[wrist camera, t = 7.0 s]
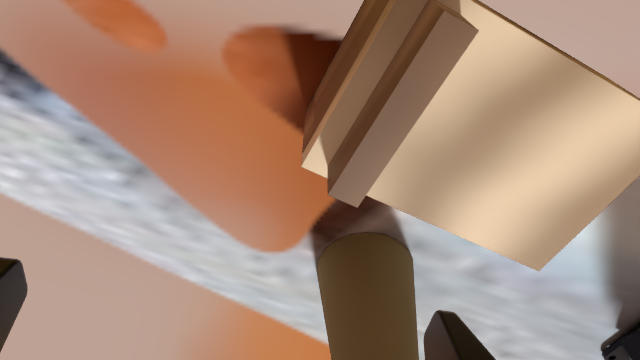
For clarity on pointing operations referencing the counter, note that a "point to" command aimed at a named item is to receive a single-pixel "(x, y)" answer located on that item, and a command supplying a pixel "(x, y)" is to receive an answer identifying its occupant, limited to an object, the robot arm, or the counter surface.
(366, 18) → the toolbox
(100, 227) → the counter surface
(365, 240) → the brown bottle
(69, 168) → the counter surface
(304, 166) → the lid
